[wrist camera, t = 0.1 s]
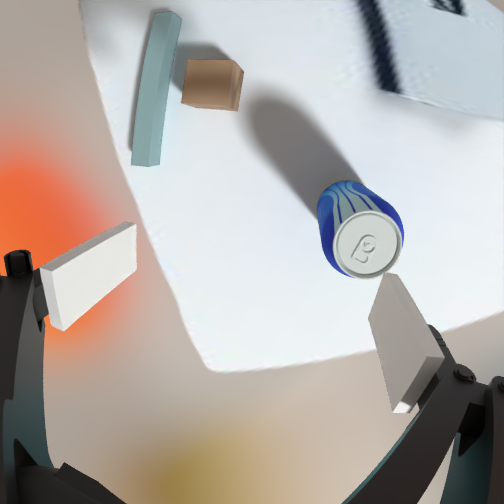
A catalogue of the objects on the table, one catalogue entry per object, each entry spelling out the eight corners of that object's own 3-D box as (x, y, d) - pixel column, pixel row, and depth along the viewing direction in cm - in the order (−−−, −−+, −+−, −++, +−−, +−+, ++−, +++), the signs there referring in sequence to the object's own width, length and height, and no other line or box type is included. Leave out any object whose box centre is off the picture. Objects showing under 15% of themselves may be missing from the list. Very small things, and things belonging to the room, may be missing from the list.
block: (203, 69, 36) (188, 59, 31) (244, 71, 36) (234, 60, 30) (197, 108, 39) (181, 103, 33) (237, 111, 38) (227, 105, 32)
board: (164, 20, 34) (154, 13, 31) (182, 19, 33) (173, 11, 30) (142, 163, 43) (130, 165, 39) (159, 164, 42) (148, 166, 39)
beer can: (306, 193, 40) (307, 221, 25) (361, 170, 38) (395, 185, 23) (329, 246, 42) (340, 301, 27) (382, 225, 40) (420, 269, 25)
